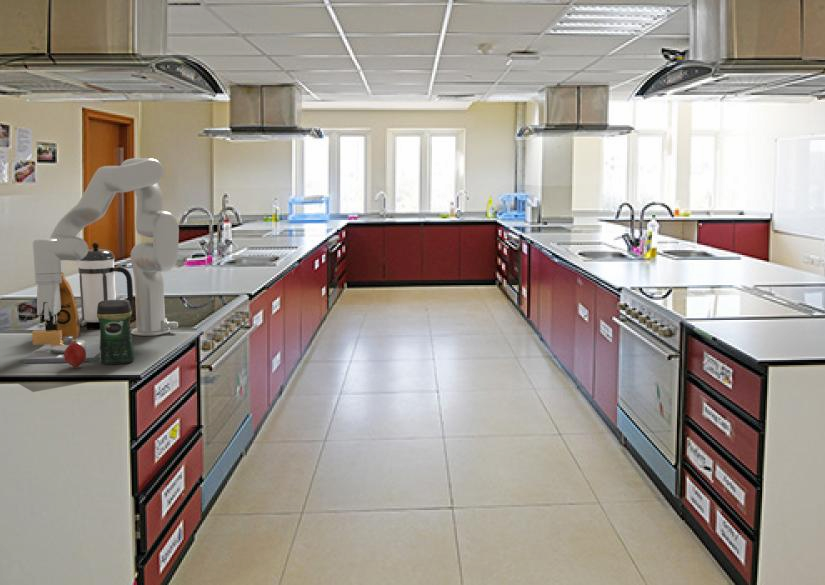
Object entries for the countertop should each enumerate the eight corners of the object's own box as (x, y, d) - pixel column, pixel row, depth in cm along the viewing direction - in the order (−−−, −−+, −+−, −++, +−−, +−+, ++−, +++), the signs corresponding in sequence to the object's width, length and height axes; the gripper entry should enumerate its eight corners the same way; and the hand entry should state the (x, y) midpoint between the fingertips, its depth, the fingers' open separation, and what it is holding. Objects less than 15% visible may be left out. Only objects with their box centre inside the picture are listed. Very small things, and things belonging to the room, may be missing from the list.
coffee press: (87, 329, 281) (82, 245, 277) (72, 323, 293) (67, 242, 289) (135, 323, 293) (131, 242, 288) (118, 317, 304) (114, 239, 300)
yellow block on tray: (90, 345, 248) (89, 327, 248) (80, 353, 239) (79, 333, 238) (40, 346, 247) (39, 327, 246) (28, 354, 237) (27, 334, 236)
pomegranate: (61, 367, 227) (59, 340, 226) (81, 364, 231) (80, 337, 230) (69, 371, 223) (67, 343, 222) (90, 367, 227) (88, 340, 226)
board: (111, 346, 254) (110, 342, 254) (93, 361, 234) (93, 356, 234) (46, 348, 252) (45, 343, 252) (22, 363, 232) (22, 358, 232)
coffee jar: (135, 358, 239) (132, 297, 236) (132, 364, 232) (129, 301, 229) (101, 359, 237) (98, 298, 234) (97, 365, 229) (94, 302, 227)
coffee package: (47, 341, 262) (43, 275, 259) (48, 334, 273) (44, 270, 270) (79, 339, 266) (76, 274, 262) (80, 332, 277) (76, 269, 274)
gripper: (41, 275, 251) (45, 332, 254) (28, 281, 237) (32, 342, 239) (67, 275, 252) (70, 331, 255) (55, 281, 238) (59, 341, 241)
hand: (52, 336), depth 247 cm, fingers closed
